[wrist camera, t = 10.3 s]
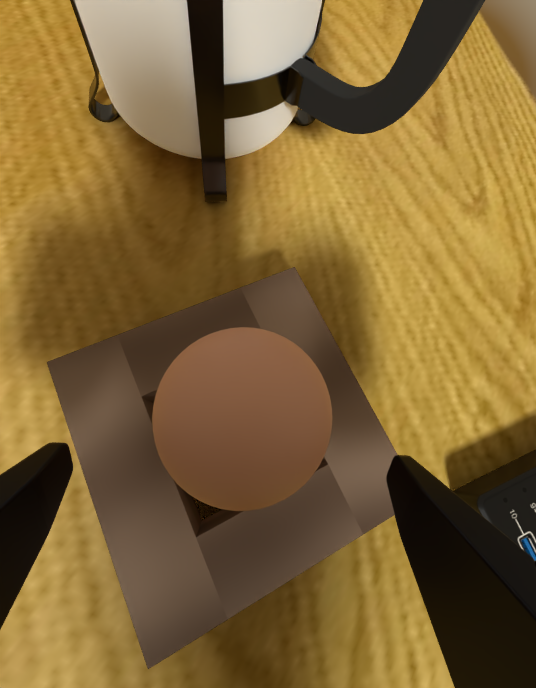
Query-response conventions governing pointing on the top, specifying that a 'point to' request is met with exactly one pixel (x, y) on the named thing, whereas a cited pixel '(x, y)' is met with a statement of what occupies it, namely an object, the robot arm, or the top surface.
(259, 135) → the coffee press
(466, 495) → the multiport hub
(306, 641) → the top surface
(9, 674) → the top surface
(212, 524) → the brown square frame
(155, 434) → the terracotta dowel
